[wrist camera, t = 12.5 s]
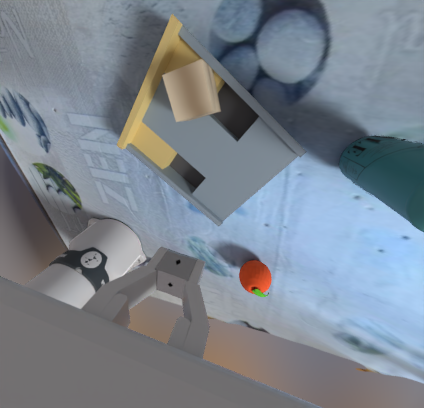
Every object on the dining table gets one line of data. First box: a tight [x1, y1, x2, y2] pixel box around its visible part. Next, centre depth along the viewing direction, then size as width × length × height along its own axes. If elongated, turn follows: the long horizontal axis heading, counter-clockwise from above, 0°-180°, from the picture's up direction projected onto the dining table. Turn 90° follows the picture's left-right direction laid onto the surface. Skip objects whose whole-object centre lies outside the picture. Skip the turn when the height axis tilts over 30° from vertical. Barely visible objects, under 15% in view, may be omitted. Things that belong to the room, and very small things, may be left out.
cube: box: [162, 59, 221, 122], centre depth 22 cm, size 5×5×5 cm
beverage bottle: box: [339, 135, 424, 232], centre depth 17 cm, size 6×7×20 cm
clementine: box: [239, 260, 271, 297], centre depth 37 cm, size 8×7×7 cm
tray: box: [117, 14, 306, 226], centre depth 28 cm, size 23×19×5 cm
